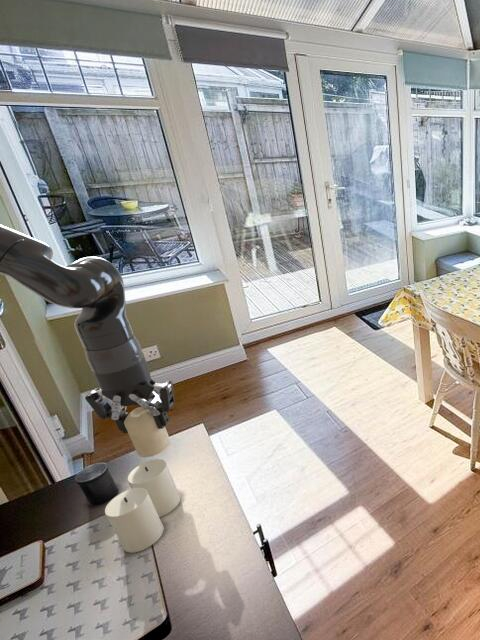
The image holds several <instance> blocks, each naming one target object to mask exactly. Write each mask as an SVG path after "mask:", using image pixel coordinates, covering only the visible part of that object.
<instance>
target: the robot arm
mask: <svg viewBox="0 0 480 640" xmlns="http://www.w3.org/2000/svg"><path fill="white" fill-rule="evenodd" d="M53 257H54V252H53V249H52V248H51V246H49V245H48V244H47V243H45V242H43V241H41V240H38V239H36V238H33V237H31V236H30V235H26V234H24V233H22V232H19V231H17V230H15V229H12V228H9V227H7V226H4V225H3V224H0V275H2V276H5V277H8V278H10V279H12V280H14V281H15V282H17V283H18V284H20V285H21V286H22V287H24V288H26V289H27V290H29V291H30V292H32V293H33V294H35V295H37V296H38V297H40V298H41V299H43V300H45V301H46V302H48V303H50V304H53V305H56V306H58V307H63V308H68V309H81V311H80V313H78V315H77V317H76V319H75V321H74V323H73V324H74V330H75V332H76V334H77V337H78V339H79V341H80V343H81V346H82V348H83V350H84V354H85V358H86V361H87V364H88V365H89V368H90V370H91V372H92V374H93V376H94V378H95V380H96V383H97V386H98V387H94V388H93V389H92V390H90V392H89V393H88V394H87V395H86V396H85V397H84V399H85V401H86V402H87V403H88V404H89V406H90V408H91V409H93V411H94V412H95V413H96V415H97V416H98V417H99V419H101V420H106V419H111V420H113V421H115V424H116V425H117V428H118V430H119V431H120V432H122V434H128V431H127V429H126V427H125V425H124V420H125V419H126V417H127V416H128V415H129V414H130V413H129V412H126V411H127V407H129V406H140V407H142V408H143V409H145V410H146V409H148V410H149V411H150V412H151V413H152V414H154V416H153V417H154V419H155V422H156V424H157V426H158V429H163V428H164V427H165V428H166V426H167V424H168V423H169V422H170V417H169V414H168V413H169V411H170V410H171V409H172V407H173V406H174V405H175V403H176V402H175V401H176V400H175V399H176V398H175V390H174V389H175V388H174V382H173V381H171V380H167V381H165V383H159V382H158V383H157V382H156V381H155V380H153V379H152V377H151V371H150V367H149V365H148V361H147V360H146V357H145V354H144V352H143V350H142V346H141V344H140V342H139V341H138V339H137V338H136V336H135V333H134V331H133V329H132V326H131V324H130V321H129V319H128V316H127V314H126V313H127V312H126V311H127V309H126V307H127V306H126V305H127V303H126V291H125V283H124V279H123V277H122V275H121V273H120V271H119V269H118V268H117V267H116V266H115V265H114V264H113V263H112V262H110V261H109V260H107V259H105V258H102V257H98V256H86V257H82V258H79V259H78V260H75V261H73V262H72V263H70V264H68V265H66V266H63V265H61V264H58V263H56V262H55V261H54V260H52V259H53ZM110 401H112V403H111V402H110Z"/></svg>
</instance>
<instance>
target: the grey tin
mask: <svg viewBox="0 0 480 640" xmlns="http://www.w3.org/2000/svg"><path fill="white" fill-rule="evenodd" d="M103 464H104V465H103ZM81 473H82V474H81ZM74 481H75V483H76V484H77V485H78V486H79V489H81V491H82V493H83V495H84V497H85V498H86V500H87V502H88V504H89V505H91V506H99V505H103V504H105V503H107V502H110V501H111V500H112V499H114V498H115V497H116V496H117V495H118V492H119V488H118V485H117V484H116V482H115V480H114V478H113V475H112V474H111V472H110V468H109V466H108V464H107V462H96V463H92V464H90V465H88V466H86V467H84V468H83V469H81V470H80V471H79V472H78V473H76V475H75V477H74Z"/></svg>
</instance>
